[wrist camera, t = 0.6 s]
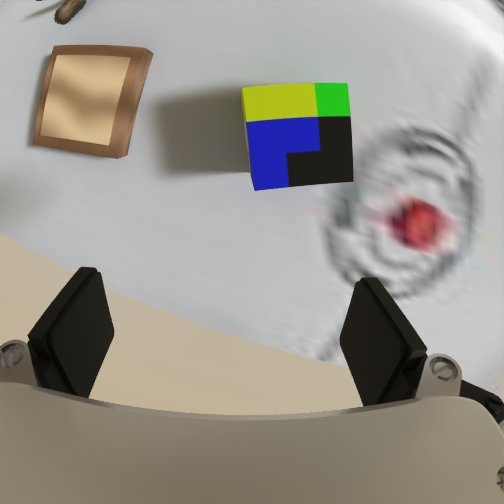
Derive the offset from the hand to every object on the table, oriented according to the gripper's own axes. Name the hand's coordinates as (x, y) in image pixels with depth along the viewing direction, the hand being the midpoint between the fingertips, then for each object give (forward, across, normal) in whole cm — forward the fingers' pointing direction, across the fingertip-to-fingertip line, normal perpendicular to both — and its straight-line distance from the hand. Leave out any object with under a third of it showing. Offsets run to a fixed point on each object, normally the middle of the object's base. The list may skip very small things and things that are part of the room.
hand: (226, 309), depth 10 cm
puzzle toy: (+29, -6, -5) cm, 30 cm away
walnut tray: (+29, +19, -10) cm, 36 cm away
